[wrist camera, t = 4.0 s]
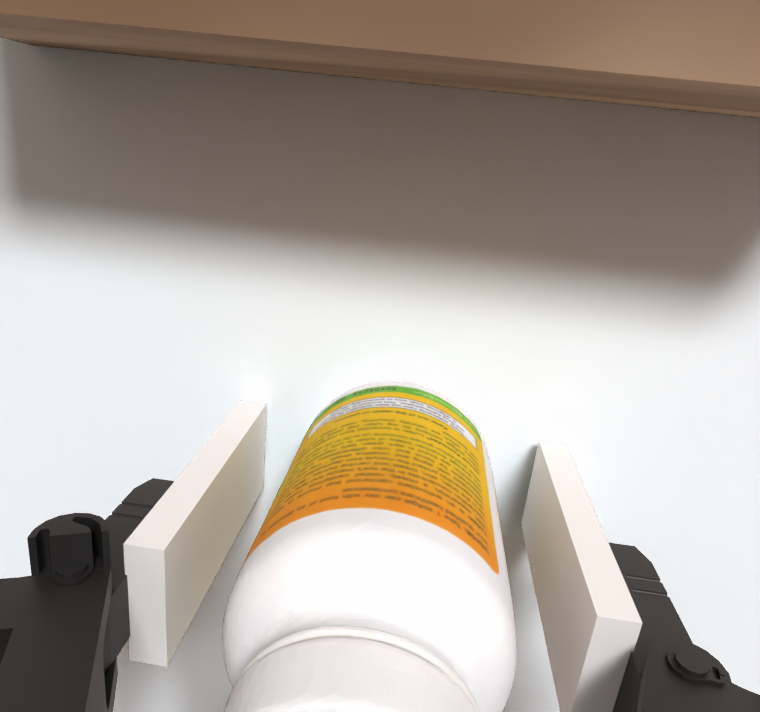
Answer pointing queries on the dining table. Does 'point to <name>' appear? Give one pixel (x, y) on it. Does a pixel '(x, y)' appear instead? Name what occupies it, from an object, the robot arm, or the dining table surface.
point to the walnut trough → (440, 42)
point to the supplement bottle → (377, 568)
